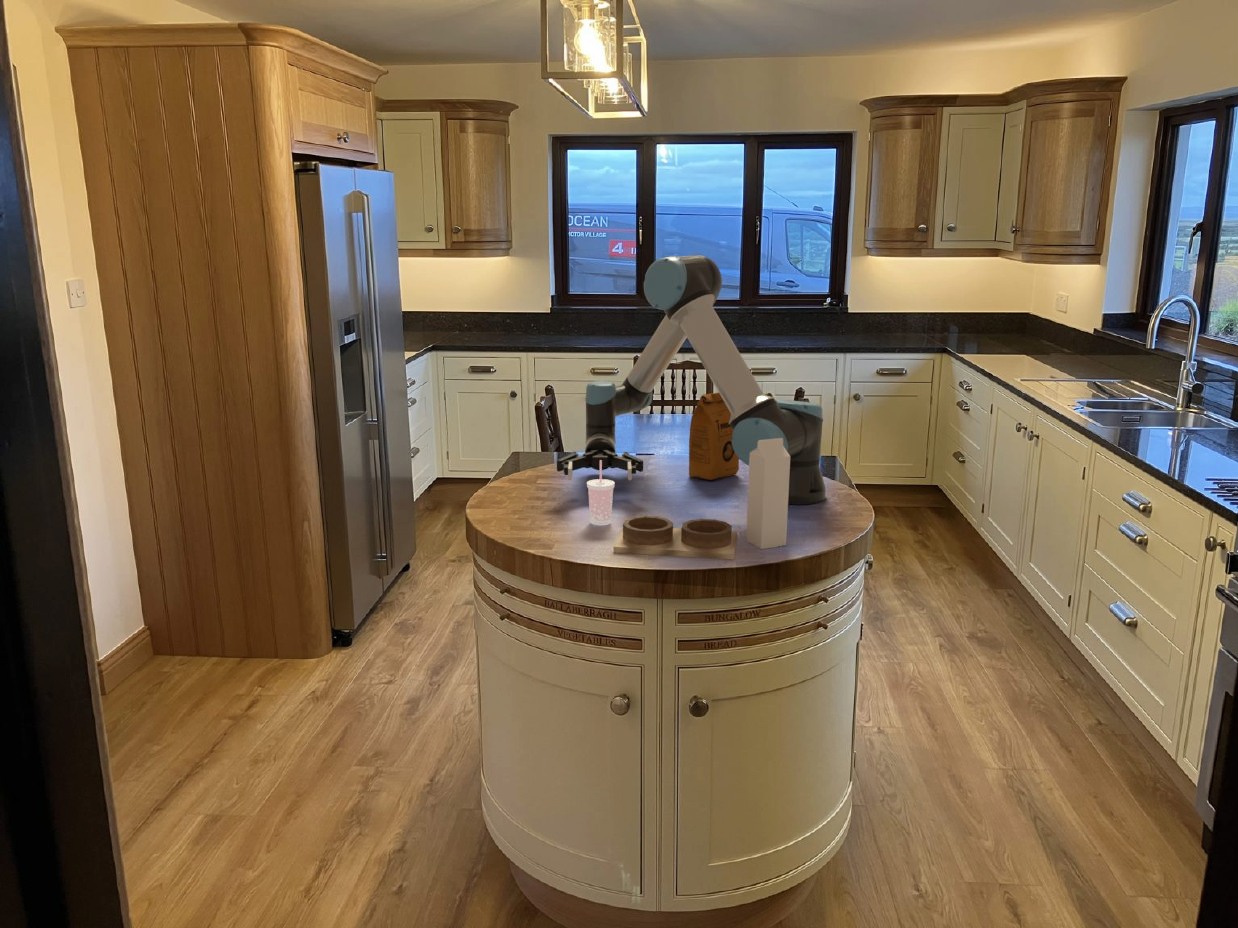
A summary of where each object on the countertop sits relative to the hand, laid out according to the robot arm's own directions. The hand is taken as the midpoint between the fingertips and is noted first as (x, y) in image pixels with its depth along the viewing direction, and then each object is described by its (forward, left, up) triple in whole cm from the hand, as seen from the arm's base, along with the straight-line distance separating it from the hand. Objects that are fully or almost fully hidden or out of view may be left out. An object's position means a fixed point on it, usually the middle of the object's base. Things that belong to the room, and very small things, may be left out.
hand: (599, 474), depth 221 cm
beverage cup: (-2, +9, -9) cm, 12 cm away
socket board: (-20, +21, -8) cm, 30 cm away
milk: (-38, +17, -9) cm, 42 cm away
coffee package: (-24, -34, -9) cm, 43 cm away
